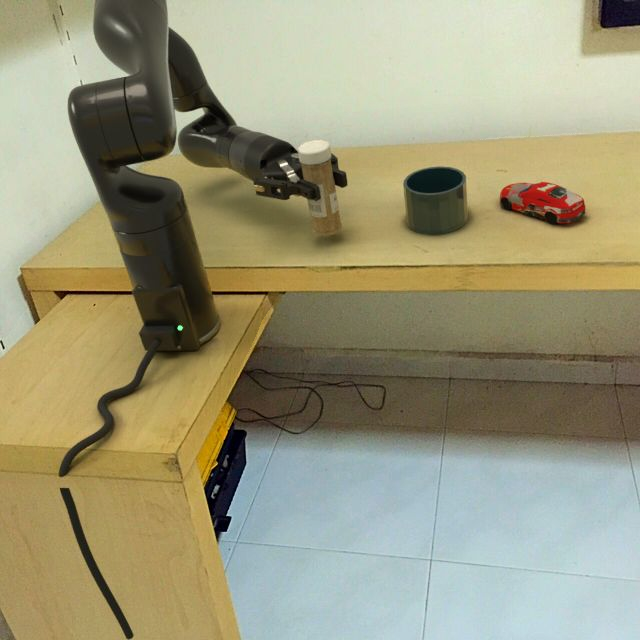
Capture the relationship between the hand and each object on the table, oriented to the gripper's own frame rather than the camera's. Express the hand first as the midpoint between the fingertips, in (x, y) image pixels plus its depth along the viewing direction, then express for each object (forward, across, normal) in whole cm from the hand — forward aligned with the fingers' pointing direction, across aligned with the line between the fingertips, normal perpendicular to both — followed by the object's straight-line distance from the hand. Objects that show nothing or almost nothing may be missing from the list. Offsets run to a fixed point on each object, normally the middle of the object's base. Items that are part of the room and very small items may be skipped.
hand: (331, 187), depth 105 cm
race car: (+17, +24, +9) cm, 31 cm away
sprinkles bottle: (-3, 0, +8) cm, 8 cm away
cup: (+6, +14, +9) cm, 18 cm away
